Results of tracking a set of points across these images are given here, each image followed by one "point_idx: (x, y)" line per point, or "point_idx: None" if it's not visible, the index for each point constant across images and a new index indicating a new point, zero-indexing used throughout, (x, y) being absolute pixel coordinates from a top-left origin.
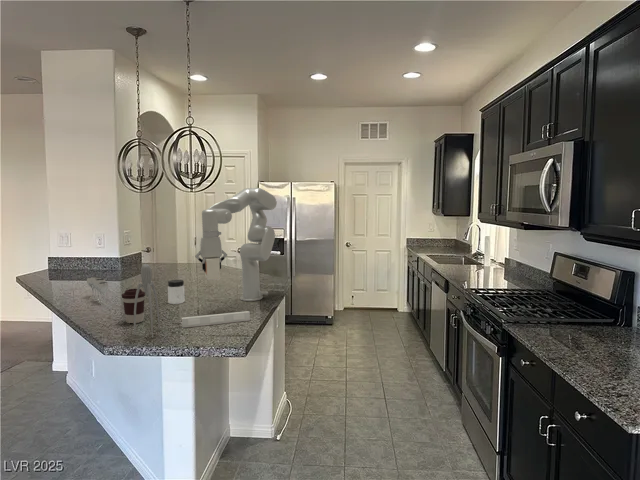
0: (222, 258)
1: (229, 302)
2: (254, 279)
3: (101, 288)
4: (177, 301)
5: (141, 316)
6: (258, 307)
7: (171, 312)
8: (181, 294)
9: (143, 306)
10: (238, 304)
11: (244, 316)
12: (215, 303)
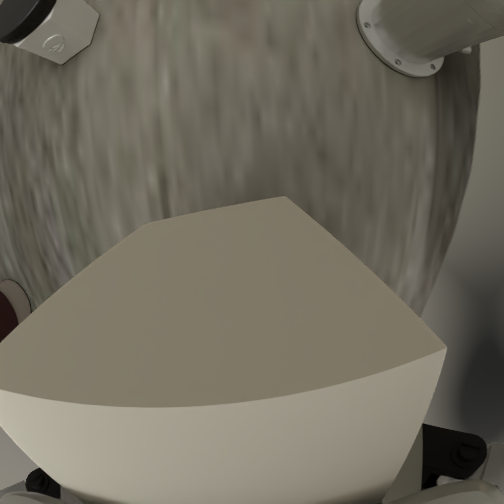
0: (432, 482)
1: (310, 55)
2: (479, 42)
3: None
4: (66, 55)
5: (23, 320)
6: (426, 196)
7: (65, 202)
8: (67, 34)
9: (7, 330)
10: (354, 109)
11: None
12: (239, 56)
